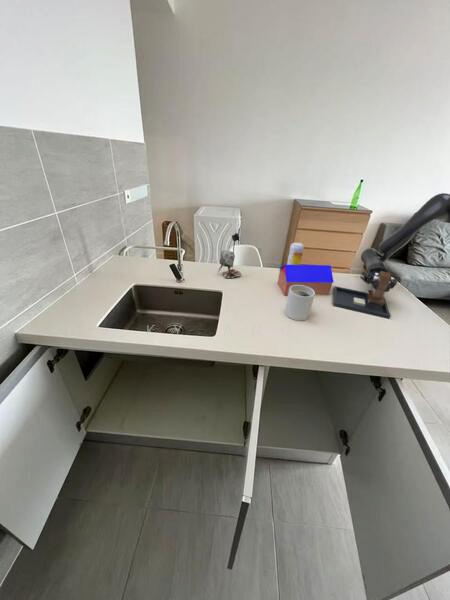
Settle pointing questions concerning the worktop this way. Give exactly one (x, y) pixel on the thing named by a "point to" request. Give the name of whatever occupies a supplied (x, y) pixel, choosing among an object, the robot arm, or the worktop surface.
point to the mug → (299, 302)
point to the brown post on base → (379, 289)
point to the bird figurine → (229, 260)
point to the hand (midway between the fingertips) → (382, 288)
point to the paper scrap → (359, 301)
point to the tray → (345, 301)
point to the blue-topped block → (306, 278)
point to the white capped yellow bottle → (295, 254)
